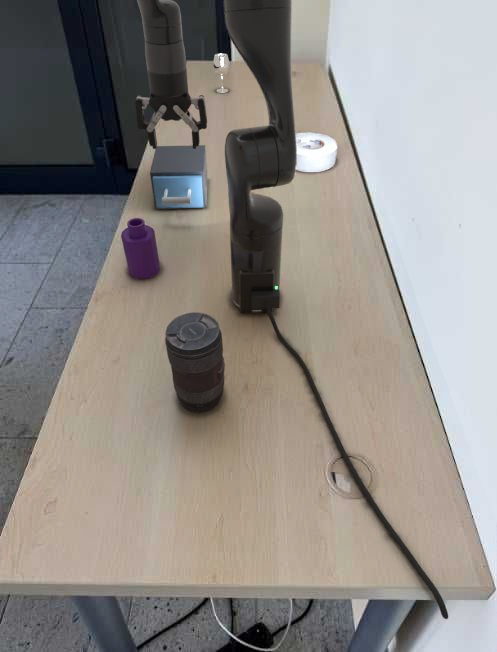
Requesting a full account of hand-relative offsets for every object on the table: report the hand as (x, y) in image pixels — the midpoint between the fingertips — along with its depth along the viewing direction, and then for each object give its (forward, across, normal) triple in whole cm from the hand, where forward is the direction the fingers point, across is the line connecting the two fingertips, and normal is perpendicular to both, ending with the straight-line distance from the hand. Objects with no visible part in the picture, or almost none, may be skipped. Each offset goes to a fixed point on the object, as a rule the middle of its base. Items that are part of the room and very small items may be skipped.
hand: (175, 147), depth 104 cm
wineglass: (+20, +8, +89) cm, 92 cm away
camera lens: (+17, +7, -54) cm, 57 cm away
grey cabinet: (+18, -1, +12) cm, 22 cm away
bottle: (+17, -6, -20) cm, 27 cm away
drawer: (+17, -1, +7) cm, 19 cm away
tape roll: (+18, +34, +30) cm, 49 cm away
